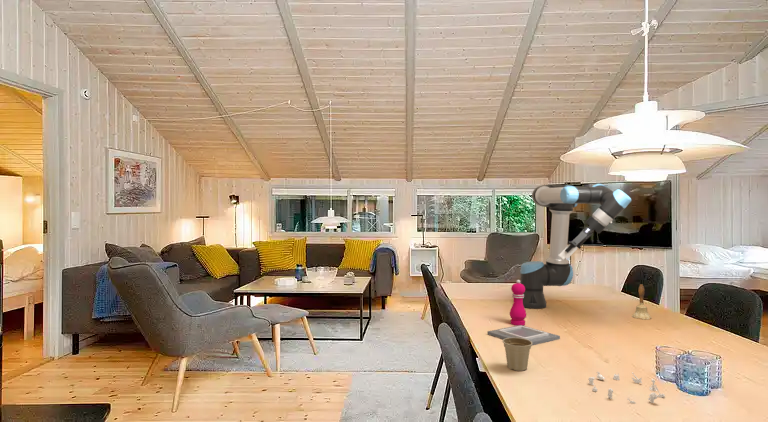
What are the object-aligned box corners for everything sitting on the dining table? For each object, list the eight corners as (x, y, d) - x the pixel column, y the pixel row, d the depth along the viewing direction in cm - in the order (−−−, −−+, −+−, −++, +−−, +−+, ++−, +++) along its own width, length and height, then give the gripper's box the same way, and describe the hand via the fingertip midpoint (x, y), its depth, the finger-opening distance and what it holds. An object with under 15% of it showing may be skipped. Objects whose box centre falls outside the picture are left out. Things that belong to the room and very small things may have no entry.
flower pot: (516, 374, 146) (516, 347, 145) (496, 365, 154) (496, 339, 154) (538, 370, 150) (538, 343, 150) (517, 361, 158) (517, 336, 158)
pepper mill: (524, 322, 212) (524, 278, 212) (527, 326, 205) (528, 281, 205) (508, 321, 213) (508, 278, 213) (511, 325, 206) (511, 280, 206)
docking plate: (487, 334, 192) (487, 329, 192) (520, 327, 203) (520, 323, 203) (526, 346, 175) (526, 341, 175) (559, 338, 186) (560, 333, 186)
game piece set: (681, 405, 125) (681, 390, 125) (609, 407, 124) (610, 392, 124) (636, 378, 144) (636, 366, 144) (574, 379, 143) (574, 367, 143)
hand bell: (632, 318, 222) (633, 285, 222) (630, 314, 230) (631, 282, 229) (652, 320, 219) (653, 286, 219) (650, 316, 226) (650, 283, 226)
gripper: (603, 226, 186) (566, 264, 192) (607, 227, 208) (573, 261, 214) (588, 213, 189) (552, 251, 195) (593, 216, 211) (560, 250, 217)
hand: (563, 256), depth 205 cm, fingers open, 13 cm apart
